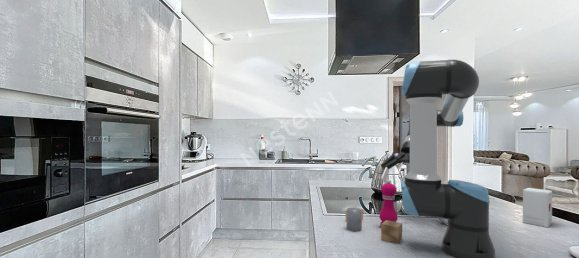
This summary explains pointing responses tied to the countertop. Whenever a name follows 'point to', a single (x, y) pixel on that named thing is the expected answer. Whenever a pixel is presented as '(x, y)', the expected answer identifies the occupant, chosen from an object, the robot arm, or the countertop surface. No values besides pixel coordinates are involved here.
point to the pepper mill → (388, 203)
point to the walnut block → (391, 231)
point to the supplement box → (537, 207)
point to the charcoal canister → (354, 219)
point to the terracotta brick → (362, 214)
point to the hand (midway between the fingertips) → (397, 181)
